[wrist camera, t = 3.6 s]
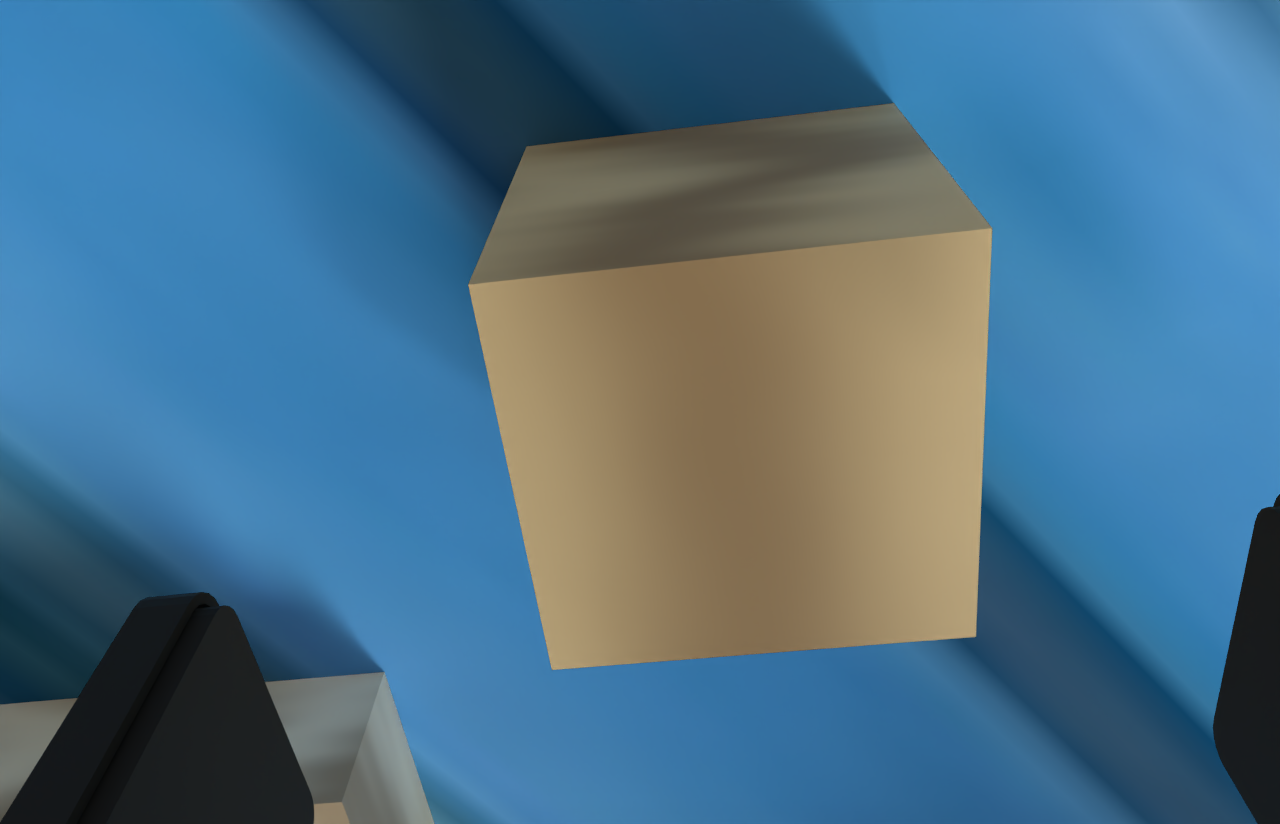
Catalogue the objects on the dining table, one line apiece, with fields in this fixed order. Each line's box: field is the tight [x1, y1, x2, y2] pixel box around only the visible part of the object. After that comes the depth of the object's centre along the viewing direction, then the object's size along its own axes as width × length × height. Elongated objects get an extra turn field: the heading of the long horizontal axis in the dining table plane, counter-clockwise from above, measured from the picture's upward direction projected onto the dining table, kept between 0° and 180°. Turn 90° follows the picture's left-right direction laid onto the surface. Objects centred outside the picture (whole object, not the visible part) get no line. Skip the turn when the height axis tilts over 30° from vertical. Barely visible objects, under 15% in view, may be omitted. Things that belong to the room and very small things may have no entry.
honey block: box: [468, 103, 992, 670], centre depth 16 cm, size 6×6×6 cm
